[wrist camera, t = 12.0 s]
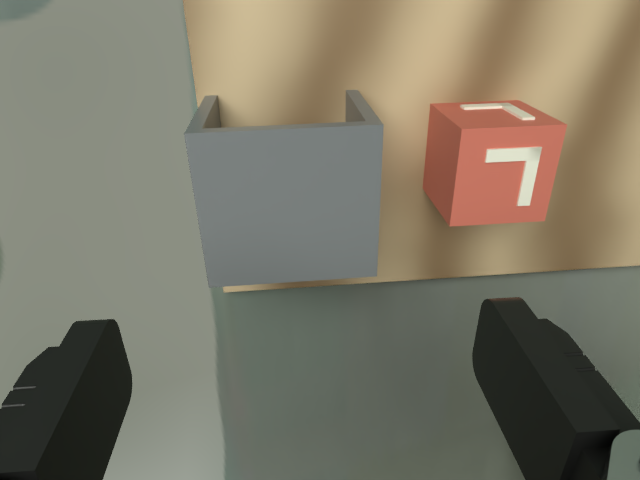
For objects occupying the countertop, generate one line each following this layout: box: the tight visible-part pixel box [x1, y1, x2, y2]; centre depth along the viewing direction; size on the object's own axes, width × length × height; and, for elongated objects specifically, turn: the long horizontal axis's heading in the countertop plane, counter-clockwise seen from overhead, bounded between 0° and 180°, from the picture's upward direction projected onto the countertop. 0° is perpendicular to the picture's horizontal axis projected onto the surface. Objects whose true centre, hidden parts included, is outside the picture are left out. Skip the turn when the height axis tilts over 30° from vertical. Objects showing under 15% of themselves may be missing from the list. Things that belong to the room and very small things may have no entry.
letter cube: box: [423, 100, 567, 227], centre depth 20 cm, size 4×4×4 cm
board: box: [183, 0, 640, 292], centre depth 23 cm, size 24×14×1 cm, turn 91°
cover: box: [184, 90, 384, 288], centre depth 19 cm, size 6×6×6 cm
